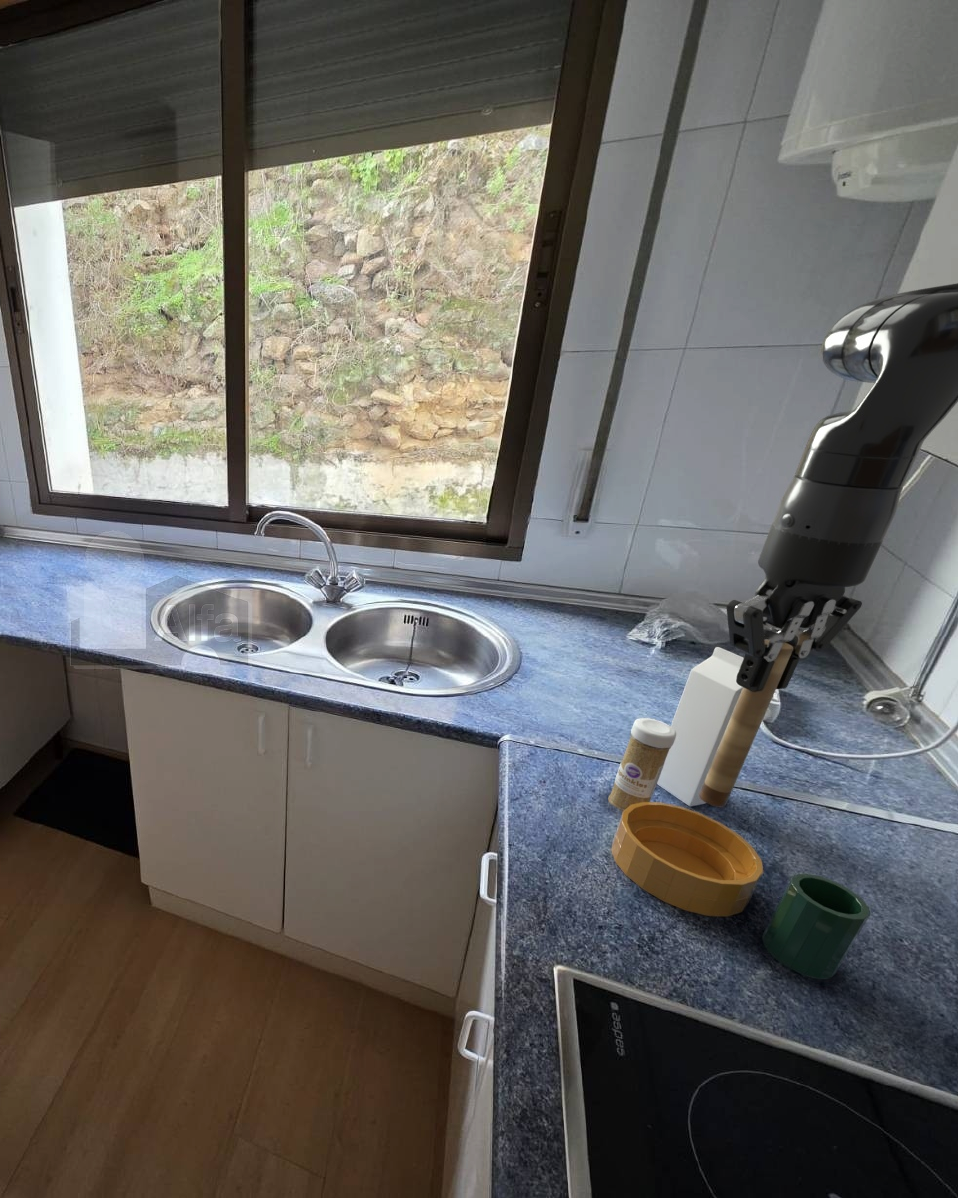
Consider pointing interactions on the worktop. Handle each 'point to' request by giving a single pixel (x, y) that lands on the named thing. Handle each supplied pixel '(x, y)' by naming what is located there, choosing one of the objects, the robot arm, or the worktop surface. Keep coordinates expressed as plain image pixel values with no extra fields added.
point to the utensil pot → (815, 925)
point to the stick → (741, 734)
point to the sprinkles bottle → (642, 762)
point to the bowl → (686, 858)
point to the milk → (701, 724)
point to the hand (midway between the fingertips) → (760, 685)
